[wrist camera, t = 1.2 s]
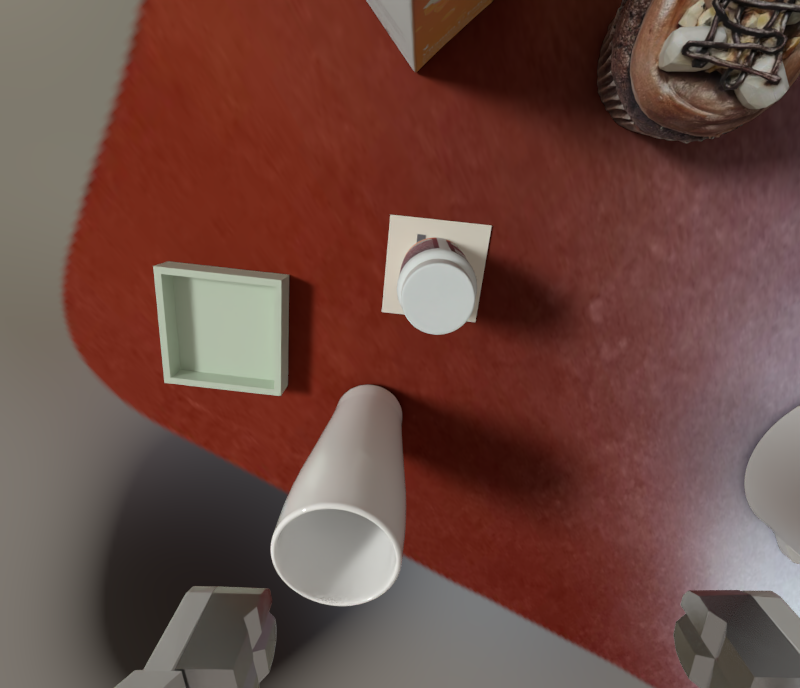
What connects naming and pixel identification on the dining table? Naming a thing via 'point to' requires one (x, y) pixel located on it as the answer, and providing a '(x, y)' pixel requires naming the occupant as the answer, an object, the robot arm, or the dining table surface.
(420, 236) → the coaster
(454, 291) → the pill bottle
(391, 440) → the drinking glass
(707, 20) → the cupcake
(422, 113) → the dining table surface
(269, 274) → the sage tray
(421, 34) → the small box
